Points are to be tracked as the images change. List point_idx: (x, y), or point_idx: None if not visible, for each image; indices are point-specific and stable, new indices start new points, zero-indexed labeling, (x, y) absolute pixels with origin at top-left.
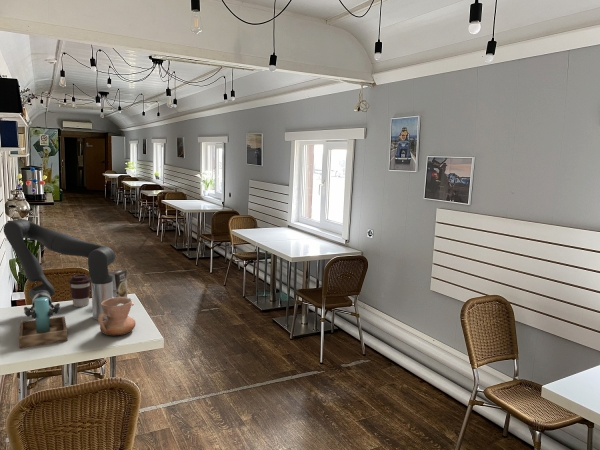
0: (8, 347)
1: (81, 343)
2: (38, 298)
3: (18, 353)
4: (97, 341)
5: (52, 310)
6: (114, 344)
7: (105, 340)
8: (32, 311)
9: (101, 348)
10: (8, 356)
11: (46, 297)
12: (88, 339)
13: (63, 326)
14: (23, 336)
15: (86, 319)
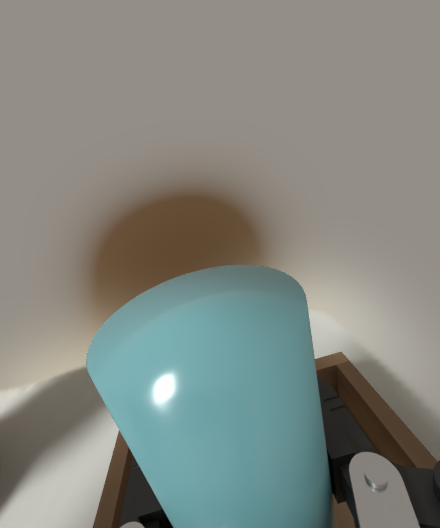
0: (417, 409)
1: (103, 414)
2: (252, 333)
3: (318, 353)
4: (46, 426)
5: (124, 501)
6: (25, 393)
7: (18, 432)
8: (371, 458)
9: (73, 371)
10: (340, 336)
11: (97, 385)
12: (59, 455)
13: (117, 506)
14: (324, 361)
15: None
